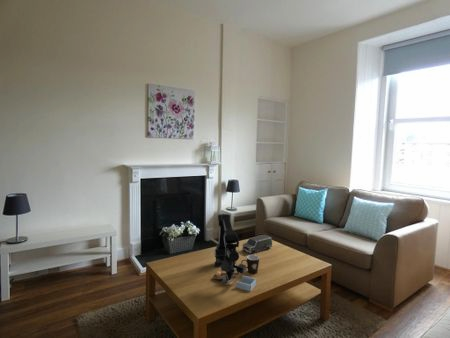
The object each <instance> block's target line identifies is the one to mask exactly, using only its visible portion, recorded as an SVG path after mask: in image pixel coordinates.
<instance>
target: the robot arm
mask: <svg viewBox="0 0 450 338" xmlns="http://www.w3.org/2000/svg"><path fill="white" fill-rule="evenodd" d="M216 221H217V223H218V224H217V225H218V226H219V232H218V243H217V244H216V245H215V249H214V258H215V262H214V263H213V266H214V268H220V269H221V271H220V272H224V273H227V276H228V279H229V280H231V278H232V276H233V273H234V272H238V273H239V274H244V273H245V272H246V271H247V267H248V266H246V264H244V263H242V264H241V263H239V264H238V265H237V261H238V260H239V259H240V254H239V252H238V250H237V248H239V247H240V246H239V245H240V240H239V237H238V235H237V233H236V231H235V230H234V229H233V226H232V223H231V214H228V213H219V214H218V215H217V216H216Z"/></svg>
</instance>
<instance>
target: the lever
mask: <svg viewBox="0 0 450 338" xmlns="http://www.w3.org/2000/svg"><path fill="white" fill-rule="evenodd" d="M223 274H224V275H226V280H227V279H228V276H227V273H226V272H221V275H220V276H216V273H215V274H214V275H213V276H212V278H213V280H223ZM239 276H240V273H238V272H237V271H235V272H234V273H233V276H232V278H231V280H229V281H228V282H227V283H226V284H225V285H232V283H233V282H234V281H235V280H236V279H237V278H238V277H239Z"/></svg>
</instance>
